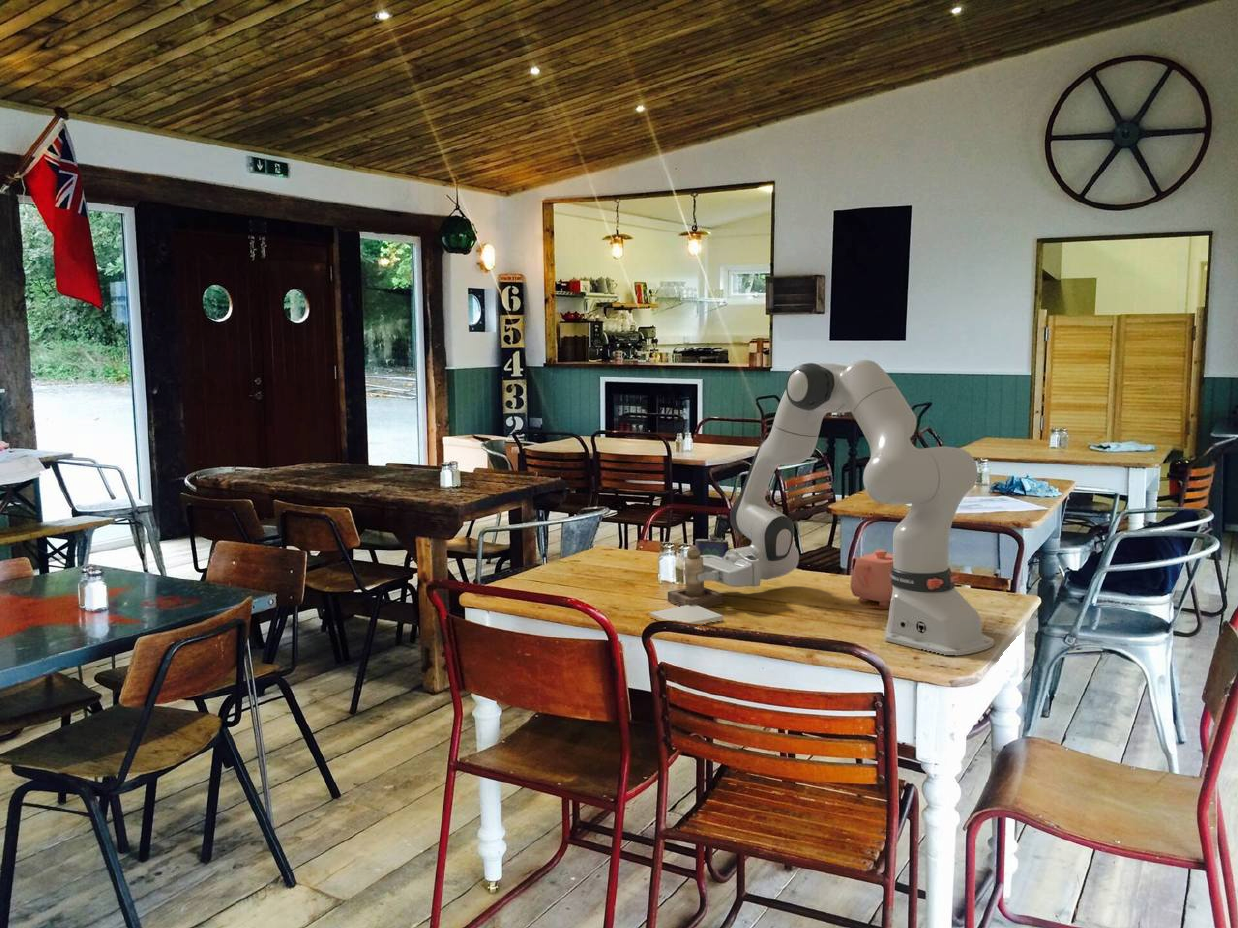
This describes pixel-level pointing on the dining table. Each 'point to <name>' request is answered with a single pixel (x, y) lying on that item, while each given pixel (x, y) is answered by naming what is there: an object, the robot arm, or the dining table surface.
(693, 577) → the mill
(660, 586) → the dining table surface
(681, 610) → the board
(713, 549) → the flask
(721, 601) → the holder
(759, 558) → the robot arm
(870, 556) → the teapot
